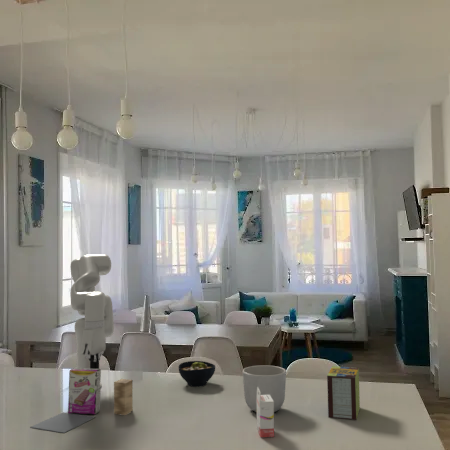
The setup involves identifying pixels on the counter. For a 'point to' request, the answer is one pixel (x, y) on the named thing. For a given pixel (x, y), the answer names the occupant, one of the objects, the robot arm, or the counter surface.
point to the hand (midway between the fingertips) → (94, 371)
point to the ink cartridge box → (265, 415)
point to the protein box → (343, 392)
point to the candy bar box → (84, 391)
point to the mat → (62, 422)
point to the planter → (264, 384)
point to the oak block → (123, 397)
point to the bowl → (196, 372)
